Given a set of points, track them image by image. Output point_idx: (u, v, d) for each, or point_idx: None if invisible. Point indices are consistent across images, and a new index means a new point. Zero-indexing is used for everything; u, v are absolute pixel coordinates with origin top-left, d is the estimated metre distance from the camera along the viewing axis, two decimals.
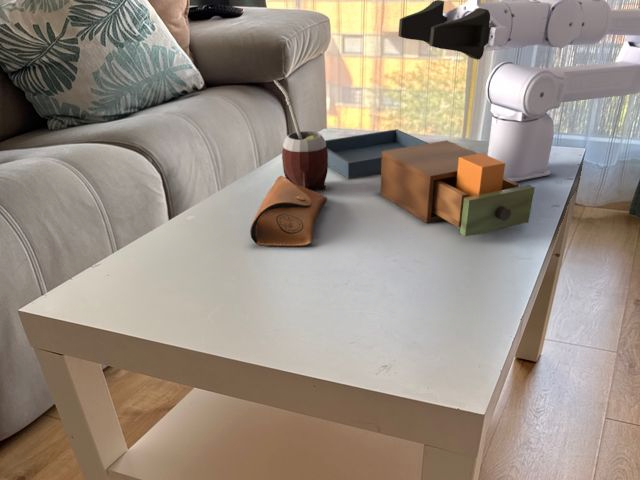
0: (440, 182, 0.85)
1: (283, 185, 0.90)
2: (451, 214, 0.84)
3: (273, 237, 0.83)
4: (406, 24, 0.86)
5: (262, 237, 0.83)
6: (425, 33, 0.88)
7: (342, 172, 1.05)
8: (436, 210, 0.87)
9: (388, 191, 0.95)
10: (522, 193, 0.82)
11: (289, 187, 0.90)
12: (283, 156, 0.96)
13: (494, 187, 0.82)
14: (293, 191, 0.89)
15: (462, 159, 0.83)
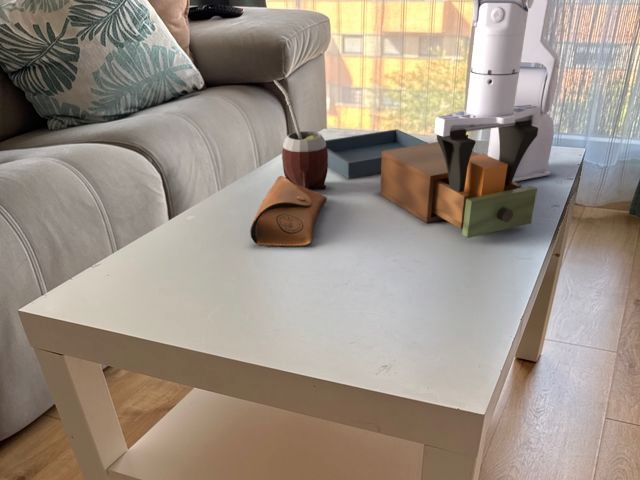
0: (442, 183, 0.85)
1: (283, 185, 0.90)
2: (453, 215, 0.84)
3: (273, 237, 0.83)
4: None
5: (262, 237, 0.83)
6: None
7: (342, 172, 1.05)
8: (438, 211, 0.87)
9: (388, 191, 0.95)
10: (524, 194, 0.81)
11: (289, 187, 0.90)
12: (283, 156, 0.96)
13: (496, 188, 0.82)
14: (293, 191, 0.89)
15: None
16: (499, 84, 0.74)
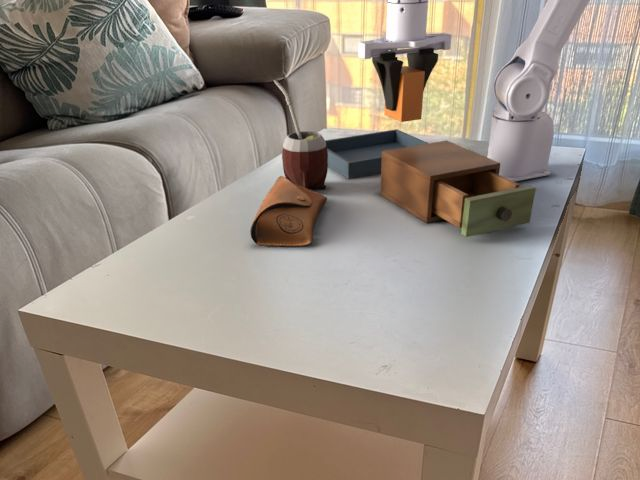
0: (441, 182, 0.85)
1: (283, 185, 0.90)
2: (452, 215, 0.84)
3: (273, 237, 0.83)
4: None
5: (262, 237, 0.83)
6: None
7: (342, 172, 1.05)
8: (437, 210, 0.87)
9: (388, 191, 0.95)
10: (523, 193, 0.82)
11: (289, 187, 0.90)
12: (283, 156, 0.96)
13: (416, 94, 0.94)
14: (293, 191, 0.89)
15: None
16: (410, 12, 0.87)
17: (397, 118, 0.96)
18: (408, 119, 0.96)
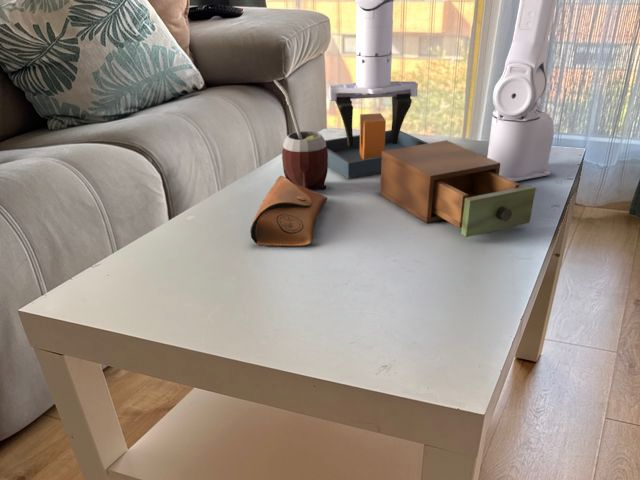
0: (441, 182, 0.85)
1: (283, 185, 0.90)
2: (452, 215, 0.84)
3: (273, 237, 0.83)
4: None
5: (262, 237, 0.83)
6: None
7: (342, 172, 1.05)
8: (437, 210, 0.87)
9: (388, 191, 0.95)
10: (523, 193, 0.82)
11: (289, 187, 0.90)
12: (283, 156, 0.96)
13: (377, 139, 1.07)
14: (293, 191, 0.89)
15: (360, 116, 1.08)
16: (369, 63, 1.00)
17: (362, 158, 1.10)
18: None
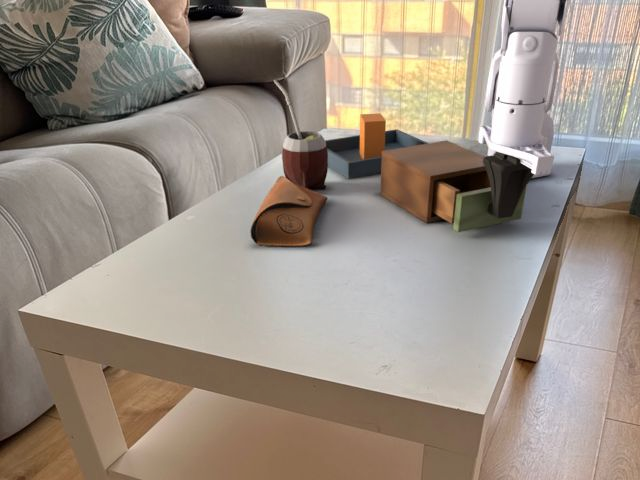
0: None
1: (283, 185, 0.90)
2: (444, 210, 0.85)
3: (273, 237, 0.83)
4: None
5: (262, 237, 0.83)
6: None
7: (342, 172, 1.05)
8: None
9: (388, 191, 0.95)
10: None
11: (289, 187, 0.90)
12: (283, 156, 0.96)
13: (377, 139, 1.07)
14: (294, 191, 0.89)
15: (360, 116, 1.08)
16: None
17: (362, 158, 1.10)
18: None
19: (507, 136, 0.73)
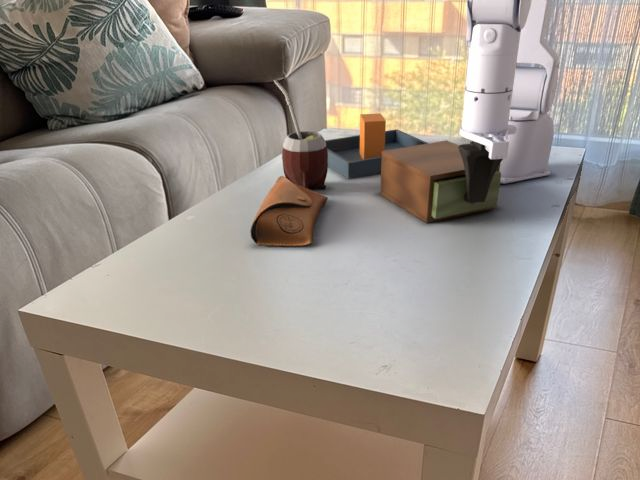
0: None
1: (283, 185, 0.90)
2: None
3: (273, 237, 0.83)
4: None
5: (262, 237, 0.83)
6: None
7: (342, 172, 1.05)
8: None
9: (388, 191, 0.95)
10: None
11: (289, 187, 0.90)
12: (283, 156, 0.96)
13: (377, 139, 1.07)
14: (294, 191, 0.89)
15: (360, 116, 1.08)
16: (511, 98, 0.77)
17: (362, 158, 1.10)
18: None
19: (472, 123, 0.78)
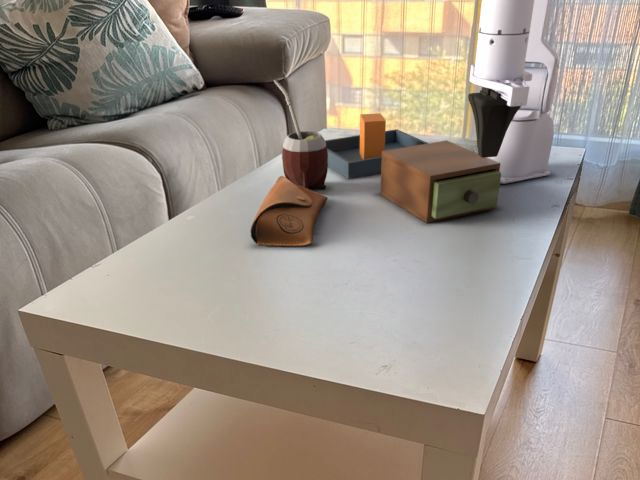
0: None
1: (283, 185, 0.90)
2: None
3: (273, 237, 0.83)
4: None
5: (262, 237, 0.83)
6: None
7: (342, 172, 1.05)
8: None
9: (388, 191, 0.95)
10: (489, 178, 0.87)
11: (290, 187, 0.90)
12: (283, 156, 0.96)
13: (377, 139, 1.07)
14: (294, 191, 0.89)
15: (360, 116, 1.08)
16: (527, 41, 0.72)
17: (362, 158, 1.10)
18: None
19: (487, 69, 0.73)
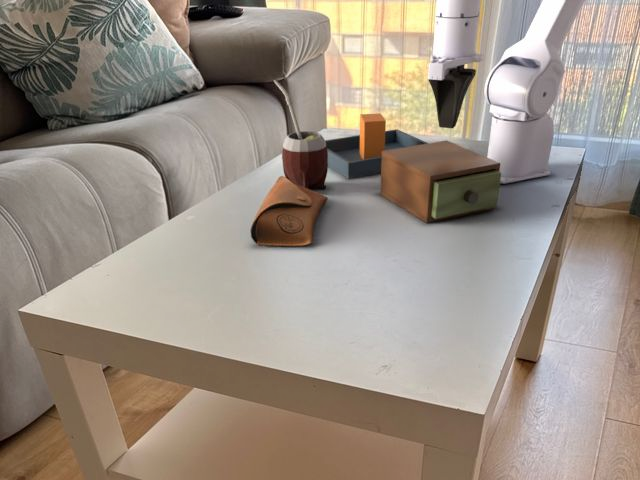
0: None
1: (283, 185, 0.90)
2: None
3: (273, 237, 0.83)
4: None
5: (262, 237, 0.83)
6: None
7: (342, 172, 1.05)
8: None
9: (388, 191, 0.95)
10: (489, 178, 0.87)
11: (290, 187, 0.90)
12: (283, 156, 0.96)
13: (377, 139, 1.07)
14: (294, 191, 0.89)
15: (360, 116, 1.08)
16: (473, 25, 0.82)
17: (362, 158, 1.10)
18: None
19: (435, 46, 0.85)
